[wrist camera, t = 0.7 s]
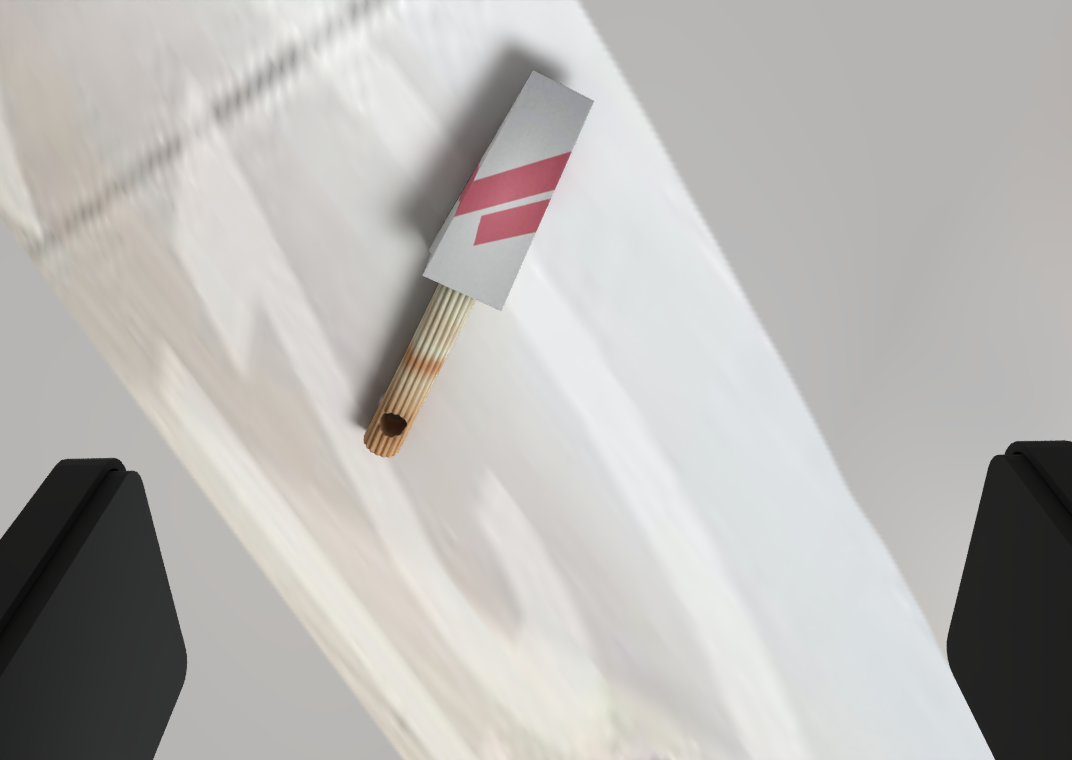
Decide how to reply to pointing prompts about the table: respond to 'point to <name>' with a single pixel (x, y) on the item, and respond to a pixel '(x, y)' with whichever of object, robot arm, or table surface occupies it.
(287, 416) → the table surface
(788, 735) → the table surface
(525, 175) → the paintbrush
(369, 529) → the table surface
